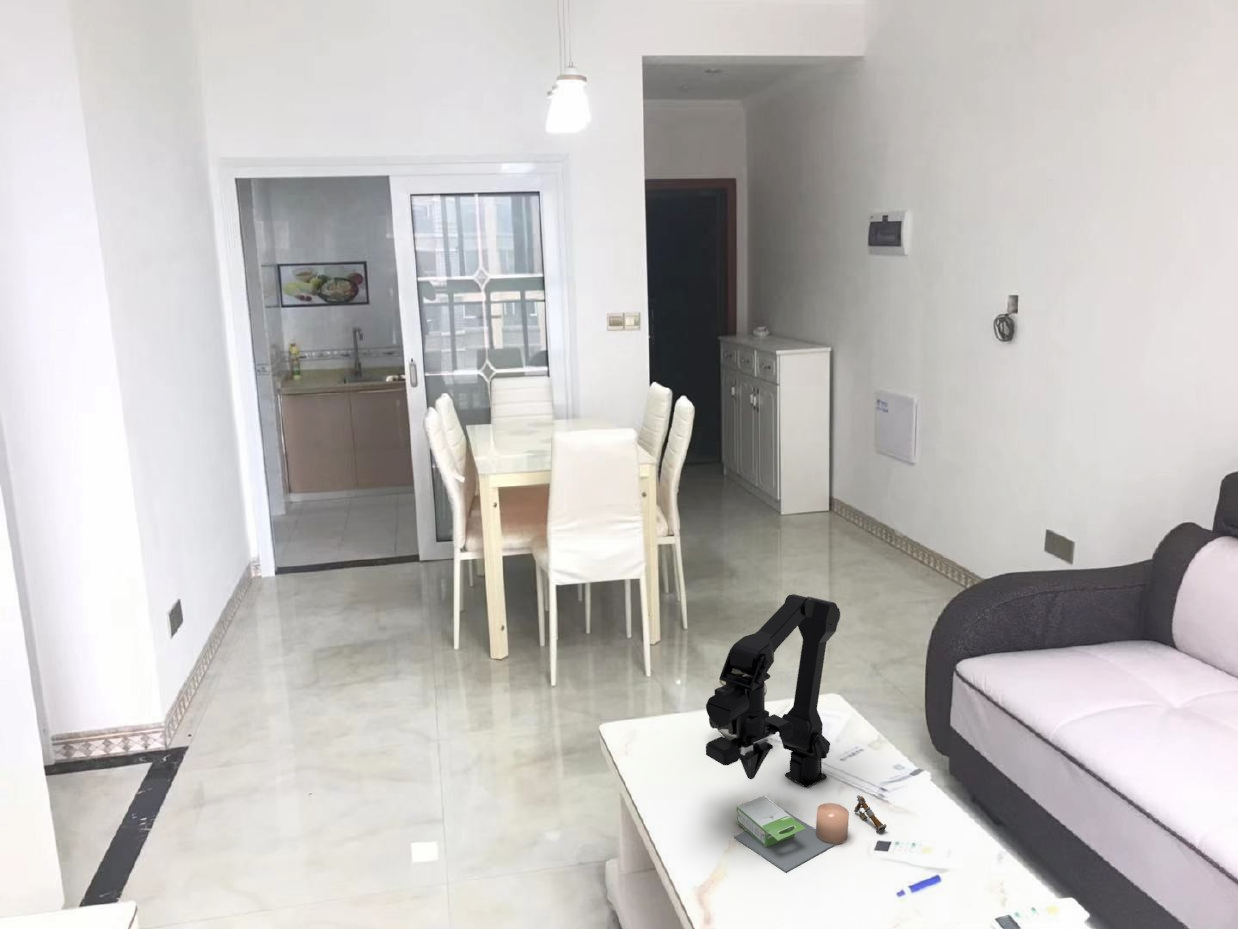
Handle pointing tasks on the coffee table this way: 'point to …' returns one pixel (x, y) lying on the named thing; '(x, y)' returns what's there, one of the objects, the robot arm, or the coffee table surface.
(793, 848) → the slate mat
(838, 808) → the peach pillar candle
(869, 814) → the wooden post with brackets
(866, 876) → the coffee table surface
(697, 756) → the coffee table surface
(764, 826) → the ink box
